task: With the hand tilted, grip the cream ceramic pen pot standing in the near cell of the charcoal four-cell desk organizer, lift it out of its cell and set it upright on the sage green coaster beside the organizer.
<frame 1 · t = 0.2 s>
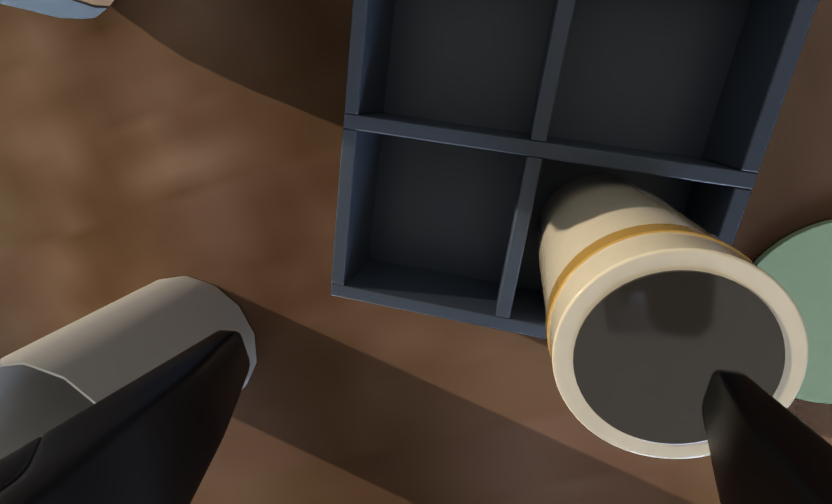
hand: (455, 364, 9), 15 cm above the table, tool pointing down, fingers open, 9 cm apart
cup: (195, 338, 30), on the table
organizer: (533, 140, 23), on the table
pen pot: (597, 232, 23), resting on organizer
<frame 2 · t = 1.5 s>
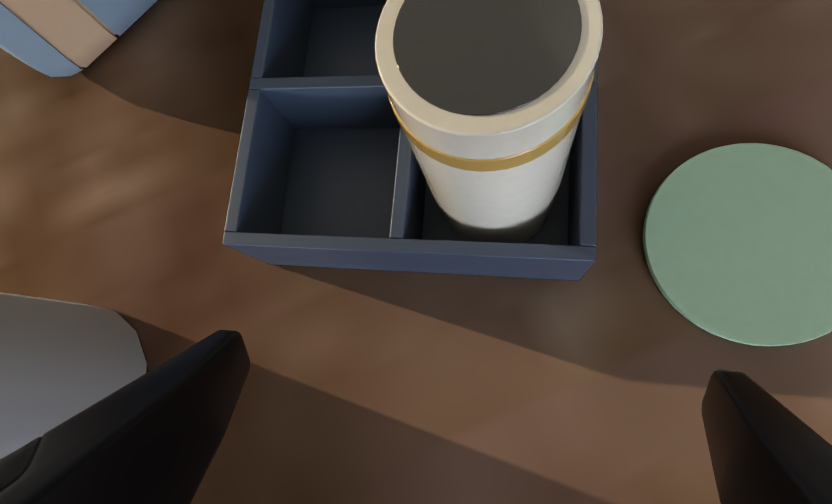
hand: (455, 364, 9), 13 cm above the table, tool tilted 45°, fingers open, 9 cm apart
cup: (78, 383, 26), on the table
coaster: (752, 241, 21), on the table
organizer: (427, 126, 25), on the table
pen pot: (495, 193, 24), resting on organizer
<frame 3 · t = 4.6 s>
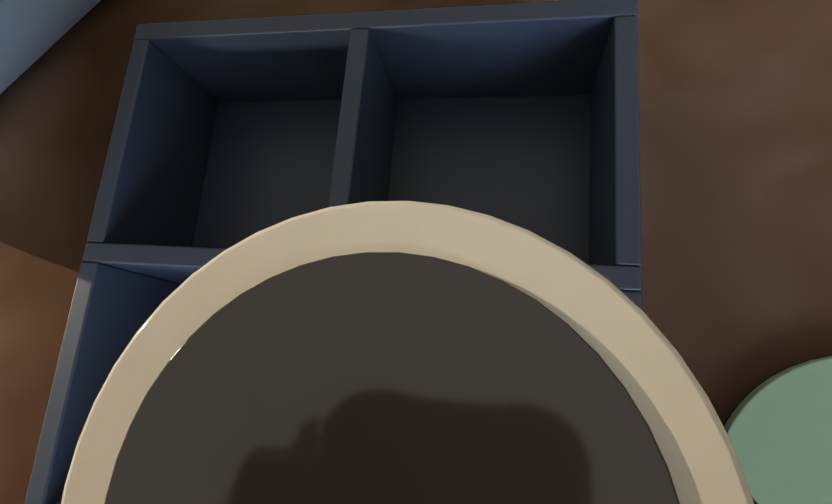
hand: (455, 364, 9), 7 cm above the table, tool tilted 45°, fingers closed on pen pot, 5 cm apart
organizer: (373, 288, 17), on the table
pen pot: (472, 411, 15), resting on organizer, touching gripper
when the fingers open (7 cm above the table, at t = 11.4 s): pen pot stays where it is, resting on coaster.
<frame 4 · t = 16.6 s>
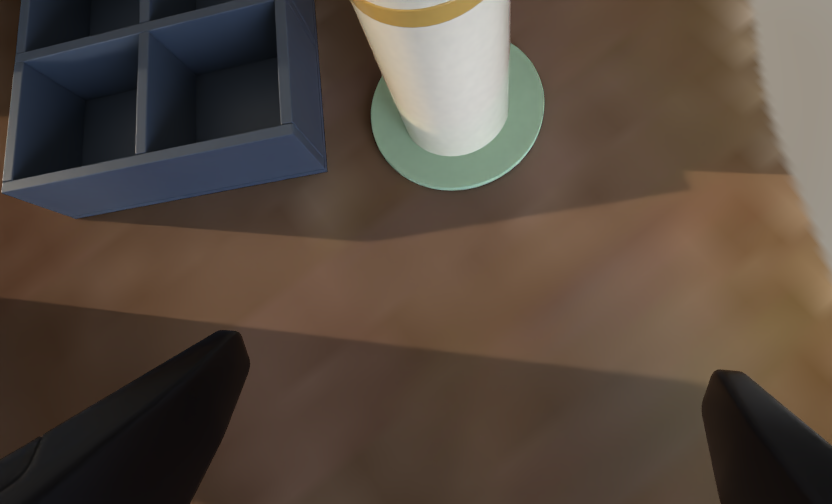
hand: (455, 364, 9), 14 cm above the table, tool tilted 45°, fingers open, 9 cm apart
coaster: (455, 109, 26), on the table
organizer: (196, 76, 29), on the table
pen pot: (454, 106, 25), resting on coaster
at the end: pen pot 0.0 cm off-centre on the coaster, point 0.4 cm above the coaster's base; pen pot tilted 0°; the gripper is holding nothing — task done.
